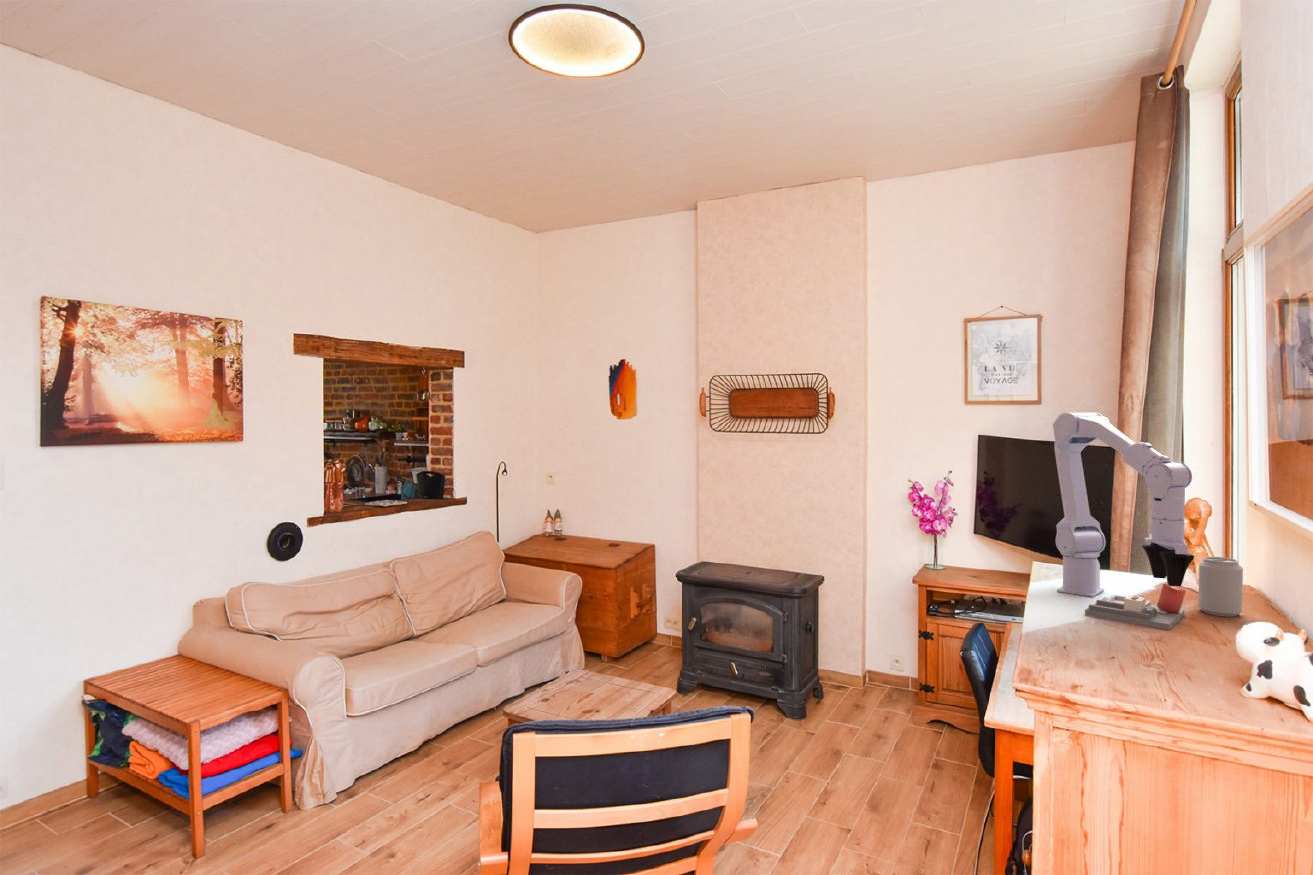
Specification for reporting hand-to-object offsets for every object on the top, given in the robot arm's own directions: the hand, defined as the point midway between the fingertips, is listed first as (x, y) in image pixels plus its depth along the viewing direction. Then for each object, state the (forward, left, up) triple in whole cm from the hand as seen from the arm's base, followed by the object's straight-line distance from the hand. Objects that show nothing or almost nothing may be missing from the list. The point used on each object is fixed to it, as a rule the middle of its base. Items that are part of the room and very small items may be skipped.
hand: (1166, 581), depth 151 cm
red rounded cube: (0, 0, -6) cm, 6 cm away
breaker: (+7, -4, -6) cm, 10 cm away
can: (-12, +7, -8) cm, 16 cm away
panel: (+3, -5, -8) cm, 10 cm away
